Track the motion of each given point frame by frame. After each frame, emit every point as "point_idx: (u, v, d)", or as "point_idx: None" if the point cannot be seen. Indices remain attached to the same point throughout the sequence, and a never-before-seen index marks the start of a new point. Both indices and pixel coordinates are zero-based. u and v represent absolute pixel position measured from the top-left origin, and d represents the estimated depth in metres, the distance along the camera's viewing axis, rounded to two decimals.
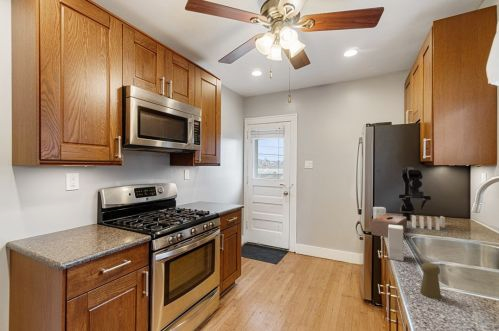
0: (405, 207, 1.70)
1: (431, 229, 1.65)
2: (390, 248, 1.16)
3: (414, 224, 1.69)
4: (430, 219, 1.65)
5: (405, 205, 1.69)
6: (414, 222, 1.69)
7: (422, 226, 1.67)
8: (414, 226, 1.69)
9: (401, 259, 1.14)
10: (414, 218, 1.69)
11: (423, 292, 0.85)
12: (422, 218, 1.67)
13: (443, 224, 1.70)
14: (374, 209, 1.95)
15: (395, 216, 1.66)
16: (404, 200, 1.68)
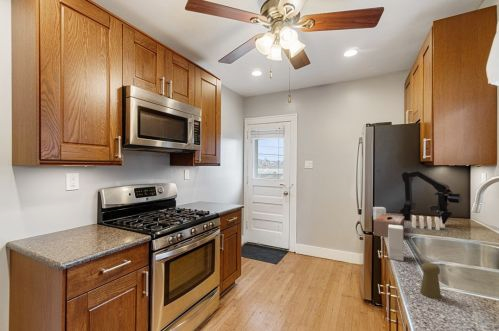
0: None
1: (431, 229, 1.65)
2: (390, 248, 1.16)
3: (414, 224, 1.69)
4: (430, 219, 1.65)
5: (439, 218, 1.76)
6: (414, 222, 1.69)
7: (422, 226, 1.67)
8: (414, 226, 1.69)
9: (401, 259, 1.14)
10: (414, 218, 1.69)
11: (423, 292, 0.85)
12: (422, 218, 1.67)
13: (443, 224, 1.70)
14: (374, 209, 1.95)
15: (393, 216, 1.67)
16: (437, 213, 1.77)
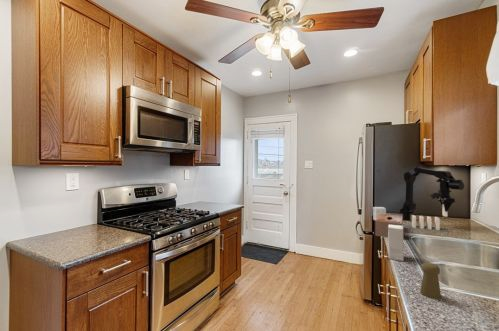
0: None
1: (431, 229, 1.65)
2: (390, 248, 1.16)
3: (414, 224, 1.69)
4: (430, 219, 1.65)
5: None
6: (414, 222, 1.69)
7: (422, 226, 1.67)
8: (414, 226, 1.69)
9: (401, 259, 1.14)
10: (414, 218, 1.69)
11: (423, 292, 0.85)
12: (422, 218, 1.67)
13: (446, 212, 1.65)
14: (374, 209, 1.95)
15: (392, 216, 1.67)
16: (439, 201, 1.72)
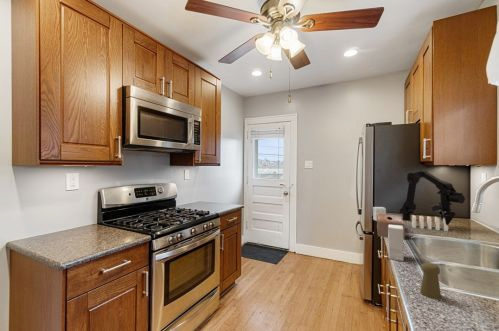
0: (442, 221, 1.68)
1: (431, 229, 1.65)
2: (390, 248, 1.16)
3: (414, 224, 1.69)
4: (430, 219, 1.65)
5: (441, 218, 1.68)
6: (414, 222, 1.69)
7: (422, 226, 1.67)
8: (414, 226, 1.69)
9: (401, 259, 1.14)
10: (414, 218, 1.69)
11: (423, 292, 0.85)
12: (422, 218, 1.67)
13: (446, 226, 1.62)
14: (374, 209, 1.95)
15: (390, 215, 1.68)
16: (439, 213, 1.70)
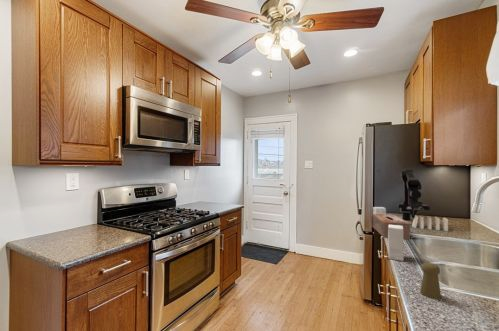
0: (412, 217, 1.72)
1: (431, 229, 1.65)
2: (390, 248, 1.16)
3: (415, 224, 1.69)
4: (430, 219, 1.65)
5: (412, 215, 1.71)
6: (415, 222, 1.69)
7: (422, 226, 1.67)
8: (414, 226, 1.69)
9: (401, 259, 1.14)
10: (416, 218, 1.69)
11: (423, 292, 0.85)
12: (422, 218, 1.67)
13: (446, 226, 1.62)
14: (374, 209, 1.95)
15: (386, 215, 1.69)
16: (411, 210, 1.70)
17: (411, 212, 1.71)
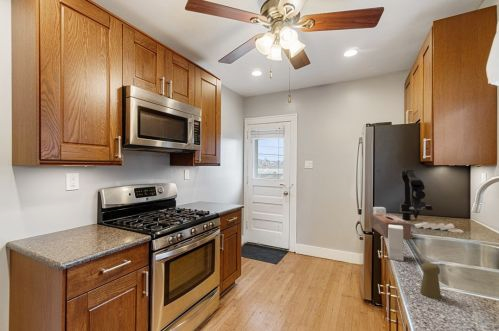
0: None
1: (431, 229, 1.65)
2: (390, 248, 1.16)
3: (419, 225, 1.68)
4: (443, 226, 1.62)
5: (414, 215, 1.71)
6: (422, 225, 1.67)
7: (426, 227, 1.66)
8: (417, 226, 1.69)
9: (401, 259, 1.14)
10: (426, 224, 1.66)
11: (423, 292, 0.85)
12: (435, 225, 1.64)
13: (454, 230, 1.60)
14: (374, 209, 1.95)
15: (386, 215, 1.69)
16: (413, 210, 1.70)
17: (414, 212, 1.70)
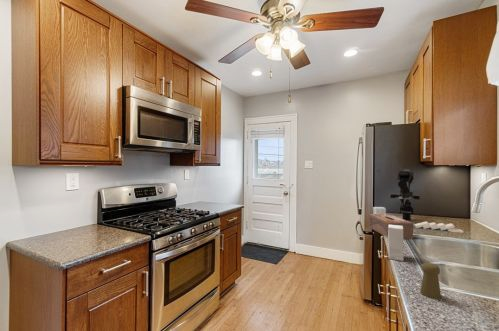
0: (403, 206, 1.80)
1: (431, 229, 1.65)
2: (390, 248, 1.16)
3: (419, 225, 1.68)
4: (443, 226, 1.62)
5: (403, 205, 1.80)
6: (422, 225, 1.67)
7: (426, 227, 1.66)
8: (417, 226, 1.69)
9: (401, 259, 1.14)
10: (426, 224, 1.66)
11: (423, 292, 0.85)
12: (435, 225, 1.64)
13: (454, 230, 1.60)
14: (374, 209, 1.95)
15: (383, 215, 1.70)
16: (402, 200, 1.79)
17: (402, 202, 1.80)
